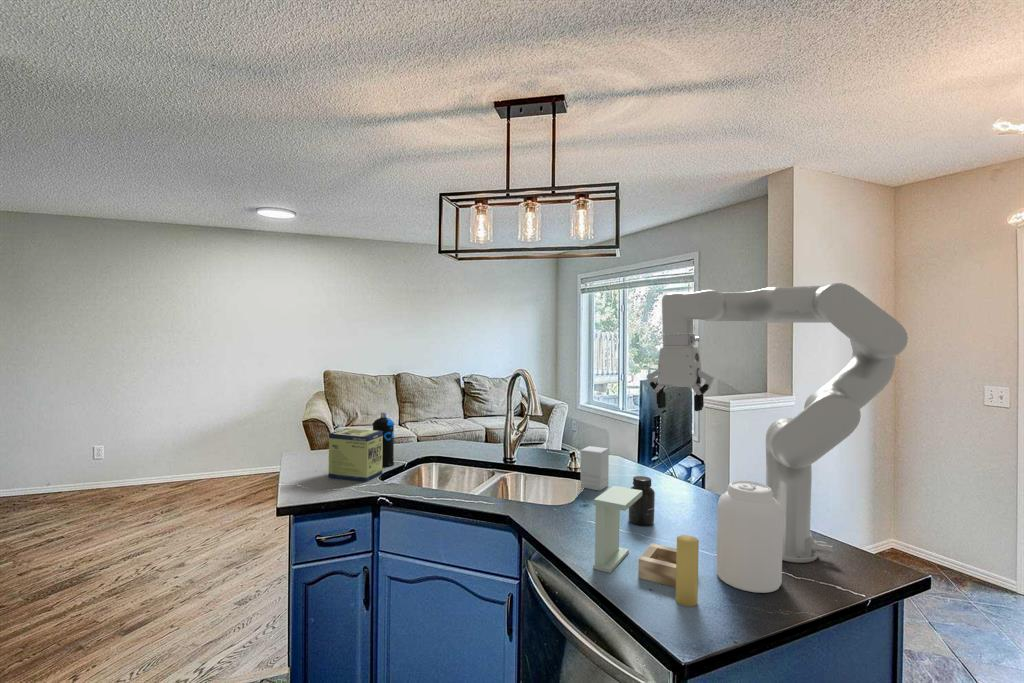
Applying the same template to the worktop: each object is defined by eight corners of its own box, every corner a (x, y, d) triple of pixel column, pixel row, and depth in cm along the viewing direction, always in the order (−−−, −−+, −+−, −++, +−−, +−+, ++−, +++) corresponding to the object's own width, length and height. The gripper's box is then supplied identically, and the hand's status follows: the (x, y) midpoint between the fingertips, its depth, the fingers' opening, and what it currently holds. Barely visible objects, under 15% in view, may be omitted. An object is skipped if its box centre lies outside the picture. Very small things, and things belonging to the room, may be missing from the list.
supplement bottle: (655, 527, 137) (655, 482, 137) (628, 525, 138) (629, 480, 138) (653, 518, 144) (654, 475, 143) (628, 516, 145) (628, 473, 145)
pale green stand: (641, 555, 120) (642, 490, 119) (623, 576, 109) (625, 505, 109) (612, 548, 123) (613, 485, 123) (592, 568, 113) (594, 499, 113)
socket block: (695, 571, 112) (695, 553, 112) (685, 590, 104) (685, 570, 104) (651, 560, 117) (651, 543, 117) (638, 577, 109) (638, 558, 109)
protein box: (367, 482, 174) (367, 436, 174) (327, 478, 179) (327, 433, 178) (383, 474, 184) (383, 430, 184) (345, 470, 189) (345, 427, 188)
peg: (699, 599, 100) (700, 538, 100) (695, 608, 97) (696, 545, 97) (678, 593, 102) (679, 533, 102) (673, 602, 99) (674, 540, 99)
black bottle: (368, 466, 193) (368, 413, 193) (377, 461, 201) (377, 410, 201) (389, 468, 192) (389, 414, 191) (397, 462, 200) (397, 411, 200)
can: (750, 599, 101) (753, 497, 100) (703, 571, 112) (705, 480, 112) (795, 587, 106) (798, 490, 105) (745, 562, 117) (747, 474, 117)
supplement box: (609, 485, 174) (609, 448, 173) (600, 491, 167) (601, 452, 167) (588, 482, 178) (589, 445, 177) (579, 487, 171) (580, 449, 171)
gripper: (718, 340, 128) (719, 409, 128) (653, 341, 140) (654, 405, 140) (706, 341, 123) (707, 413, 123) (640, 342, 134) (641, 408, 134)
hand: (679, 409), depth 131 cm, fingers open, 9 cm apart
